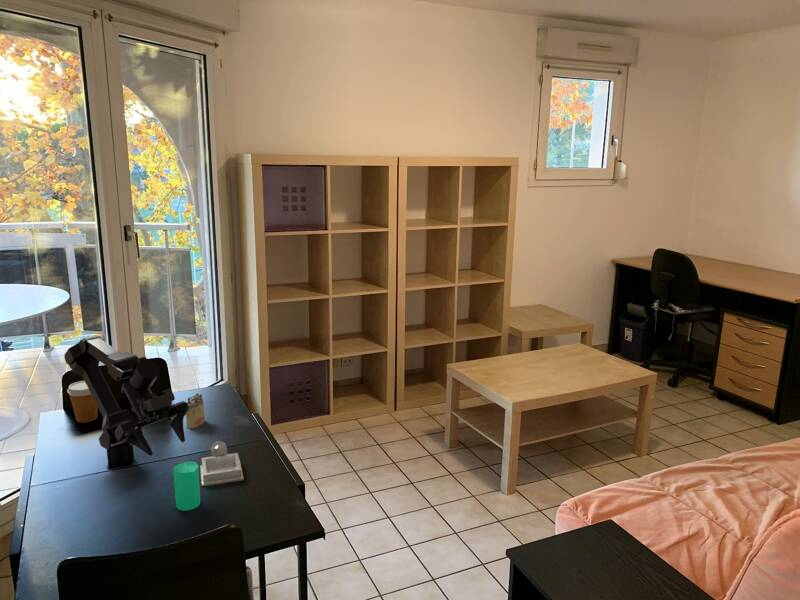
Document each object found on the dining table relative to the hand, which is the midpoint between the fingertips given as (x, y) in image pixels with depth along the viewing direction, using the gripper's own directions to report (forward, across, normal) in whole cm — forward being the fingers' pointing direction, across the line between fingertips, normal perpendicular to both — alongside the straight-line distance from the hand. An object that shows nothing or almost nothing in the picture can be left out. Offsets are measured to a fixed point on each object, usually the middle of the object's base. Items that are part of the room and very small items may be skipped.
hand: (168, 448), depth 157 cm
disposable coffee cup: (-35, +8, +53) cm, 64 cm away
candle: (+15, 0, +4) cm, 15 cm away
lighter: (-13, +29, +32) cm, 44 cm away
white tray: (+9, +16, +10) cm, 21 cm away
